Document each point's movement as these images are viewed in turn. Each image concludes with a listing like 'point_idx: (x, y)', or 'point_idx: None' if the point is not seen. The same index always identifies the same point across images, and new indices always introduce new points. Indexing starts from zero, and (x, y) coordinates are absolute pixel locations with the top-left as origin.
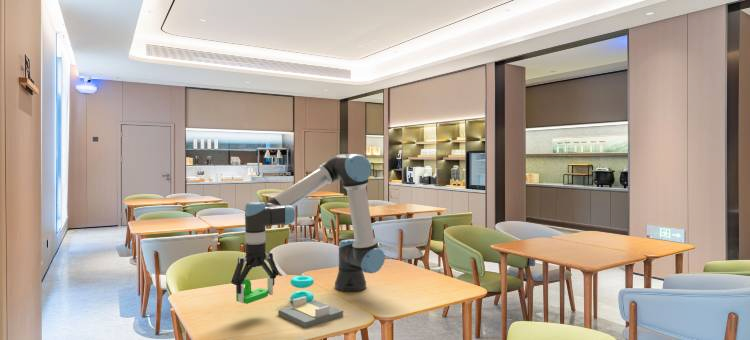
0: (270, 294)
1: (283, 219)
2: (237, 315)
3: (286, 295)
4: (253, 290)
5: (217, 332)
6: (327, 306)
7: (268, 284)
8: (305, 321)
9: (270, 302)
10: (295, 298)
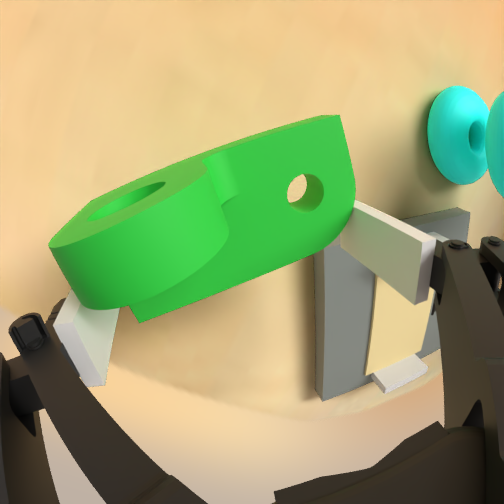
0: (341, 237)
1: None
2: (132, 135)
3: (437, 32)
4: (260, 143)
5: (21, 310)
6: (420, 374)
7: (381, 237)
8: (326, 396)
9: (359, 51)
10: (442, 153)
